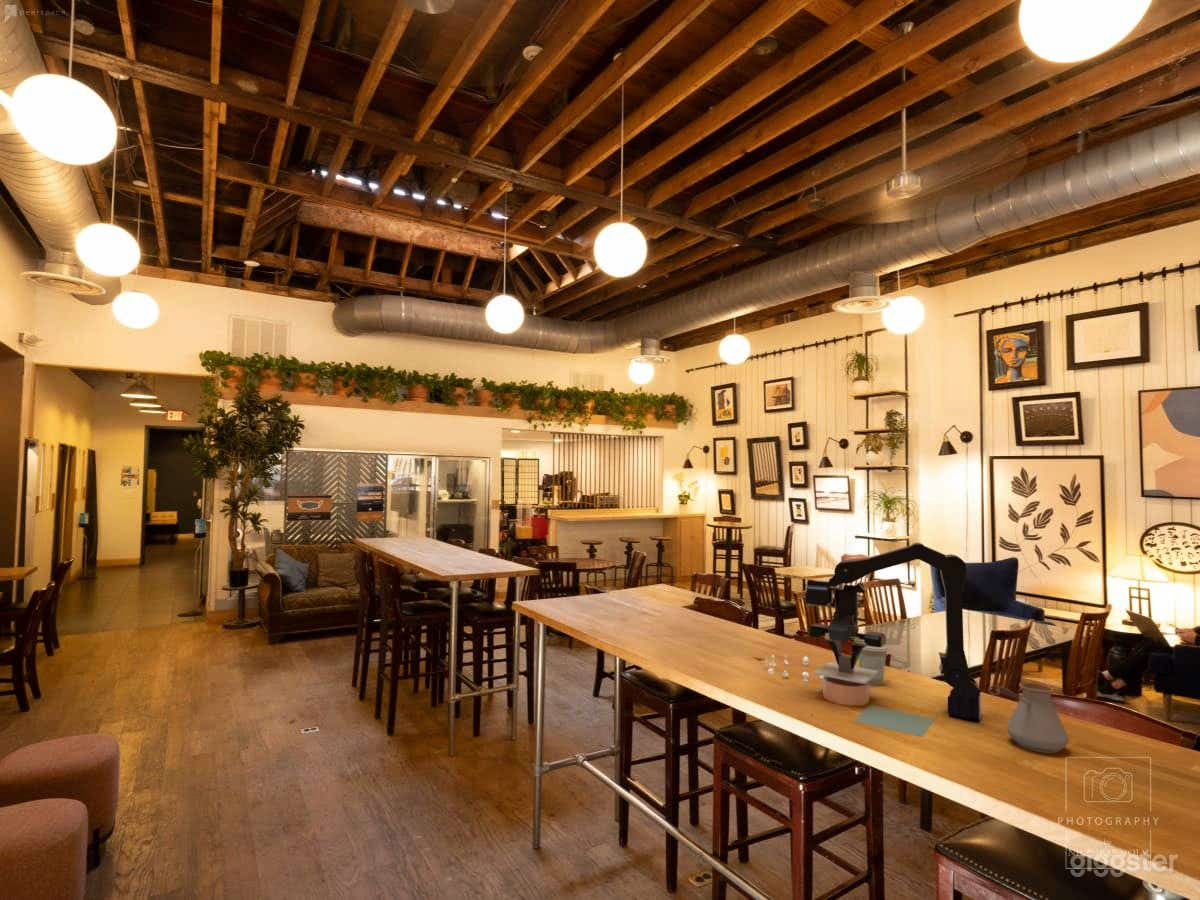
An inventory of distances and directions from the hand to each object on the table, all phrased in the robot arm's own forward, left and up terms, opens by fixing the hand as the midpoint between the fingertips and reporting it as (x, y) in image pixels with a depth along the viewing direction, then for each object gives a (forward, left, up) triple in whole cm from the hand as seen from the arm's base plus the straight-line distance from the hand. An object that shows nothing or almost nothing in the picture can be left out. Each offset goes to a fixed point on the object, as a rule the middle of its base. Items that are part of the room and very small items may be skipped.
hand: (846, 667), depth 171 cm
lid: (0, 0, -2) cm, 2 cm away
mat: (-14, +9, -9) cm, 19 cm away
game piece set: (+20, -18, -9) cm, 28 cm away
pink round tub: (0, 0, -9) cm, 9 cm away
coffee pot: (-40, +8, -9) cm, 42 cm away
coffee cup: (-1, -22, -9) cm, 24 cm away
